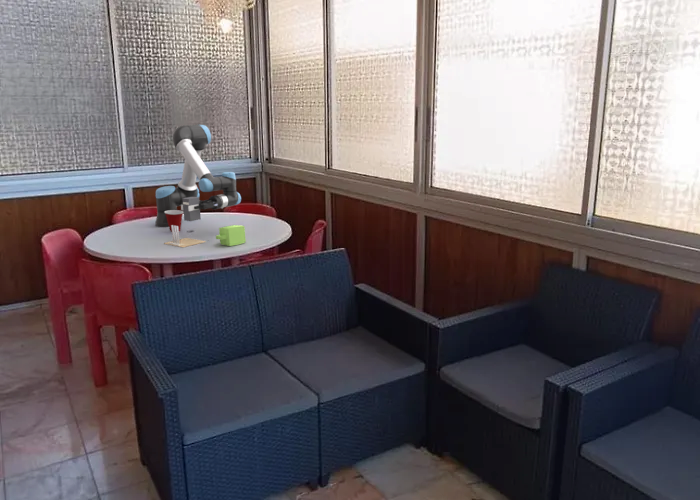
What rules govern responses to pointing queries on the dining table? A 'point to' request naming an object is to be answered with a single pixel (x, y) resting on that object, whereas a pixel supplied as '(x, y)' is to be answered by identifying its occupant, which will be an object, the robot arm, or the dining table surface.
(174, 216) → the plastic cup
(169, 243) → the board
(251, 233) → the dining table surface
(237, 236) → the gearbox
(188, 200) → the plug housing
